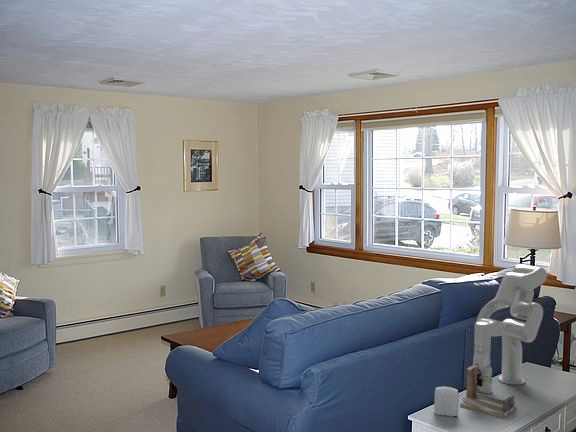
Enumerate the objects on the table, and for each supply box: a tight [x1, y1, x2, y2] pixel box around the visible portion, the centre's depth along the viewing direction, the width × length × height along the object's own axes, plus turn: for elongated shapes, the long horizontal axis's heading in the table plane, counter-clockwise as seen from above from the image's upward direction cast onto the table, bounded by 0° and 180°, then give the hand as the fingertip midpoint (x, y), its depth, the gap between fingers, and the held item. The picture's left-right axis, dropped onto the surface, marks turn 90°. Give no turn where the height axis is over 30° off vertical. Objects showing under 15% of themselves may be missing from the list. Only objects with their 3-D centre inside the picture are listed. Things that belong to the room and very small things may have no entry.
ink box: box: [477, 366, 493, 394], centre depth 296 cm, size 9×5×12 cm, turn 62°
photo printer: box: [433, 386, 460, 417], centre depth 268 cm, size 10×4×12 cm, turn 72°
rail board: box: [459, 392, 517, 419], centre depth 276 cm, size 14×20×6 cm
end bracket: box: [465, 364, 478, 399], centre depth 281 cm, size 6×2×15 cm, turn 137°
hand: (481, 383), depth 296 cm, fingers closed on ink box, 6 cm apart
